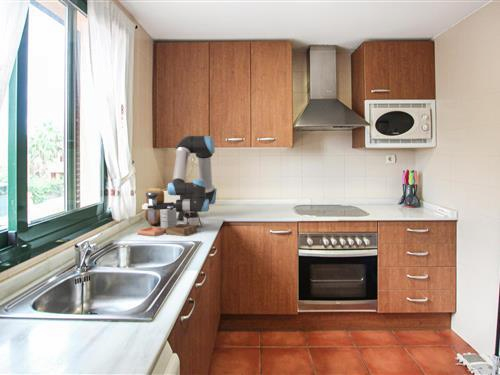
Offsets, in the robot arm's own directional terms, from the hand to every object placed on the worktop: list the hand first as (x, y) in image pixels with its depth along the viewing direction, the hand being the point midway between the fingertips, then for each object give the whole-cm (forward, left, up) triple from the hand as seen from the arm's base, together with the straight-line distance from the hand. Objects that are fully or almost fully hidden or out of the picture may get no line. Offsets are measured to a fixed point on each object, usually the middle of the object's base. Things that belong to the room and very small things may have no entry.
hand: (143, 206), depth 213 cm
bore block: (-11, +19, -17) cm, 28 cm away
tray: (-3, +4, -17) cm, 17 cm away
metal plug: (-3, +5, -10) cm, 11 cm away
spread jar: (-30, +15, -17) cm, 38 cm away
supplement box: (-20, +2, -17) cm, 26 cm away
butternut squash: (-24, -12, -17) cm, 31 cm away
